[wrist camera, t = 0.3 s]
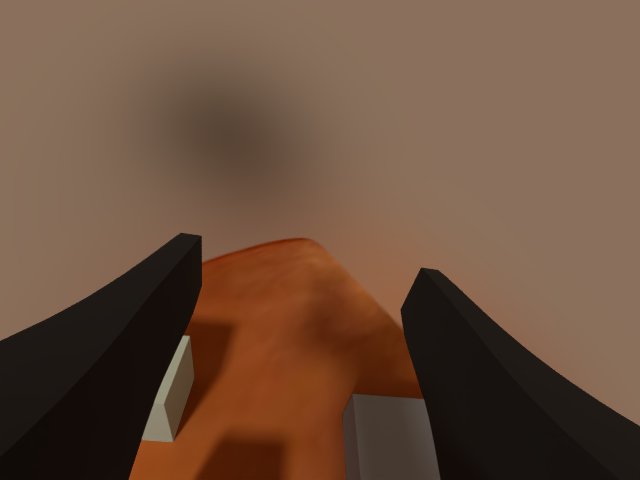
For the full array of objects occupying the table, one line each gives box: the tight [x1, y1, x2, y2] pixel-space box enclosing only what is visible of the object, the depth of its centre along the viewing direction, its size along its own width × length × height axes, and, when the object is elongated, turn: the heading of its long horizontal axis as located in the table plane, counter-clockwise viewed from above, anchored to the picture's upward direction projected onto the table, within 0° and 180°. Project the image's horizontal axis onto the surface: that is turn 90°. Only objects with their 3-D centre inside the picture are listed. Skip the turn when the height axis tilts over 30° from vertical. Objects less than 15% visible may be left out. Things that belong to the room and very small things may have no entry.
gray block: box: [343, 394, 440, 480], centre depth 23 cm, size 9×9×4 cm
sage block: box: [142, 335, 195, 442], centre depth 23 cm, size 5×5×6 cm
